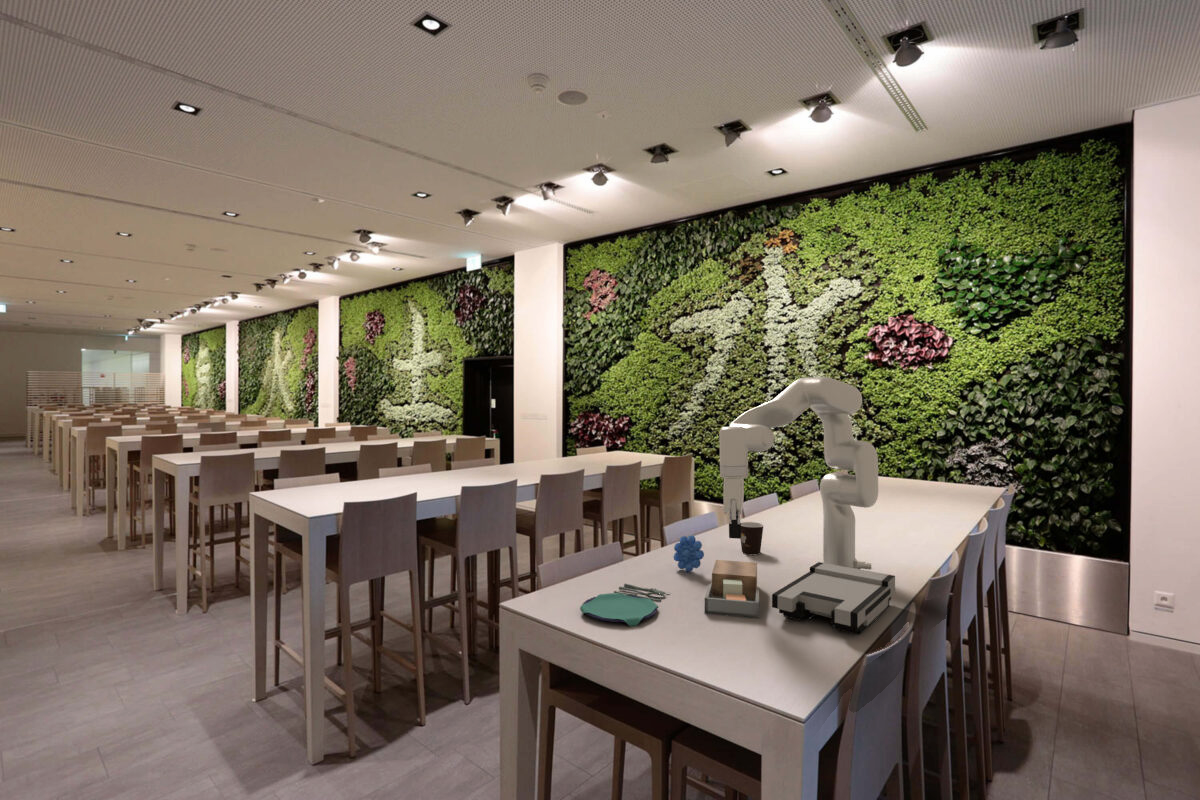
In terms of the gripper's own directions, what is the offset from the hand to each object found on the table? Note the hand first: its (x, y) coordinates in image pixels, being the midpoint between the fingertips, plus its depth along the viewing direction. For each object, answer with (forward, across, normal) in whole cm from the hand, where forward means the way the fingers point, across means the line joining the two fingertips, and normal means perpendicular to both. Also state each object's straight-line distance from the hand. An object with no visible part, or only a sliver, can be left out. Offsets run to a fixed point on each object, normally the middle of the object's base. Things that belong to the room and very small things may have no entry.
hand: (735, 537), depth 167 cm
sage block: (+14, 0, -1) cm, 14 cm away
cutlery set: (+18, +12, -28) cm, 35 cm away
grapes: (+18, -24, -16) cm, 34 cm away
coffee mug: (+19, -54, +2) cm, 57 cm away
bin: (+17, +6, -1) cm, 18 cm away
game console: (+18, +2, +26) cm, 32 cm away
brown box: (+18, -7, -1) cm, 19 cm away
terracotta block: (+14, +7, 0) cm, 16 cm away
